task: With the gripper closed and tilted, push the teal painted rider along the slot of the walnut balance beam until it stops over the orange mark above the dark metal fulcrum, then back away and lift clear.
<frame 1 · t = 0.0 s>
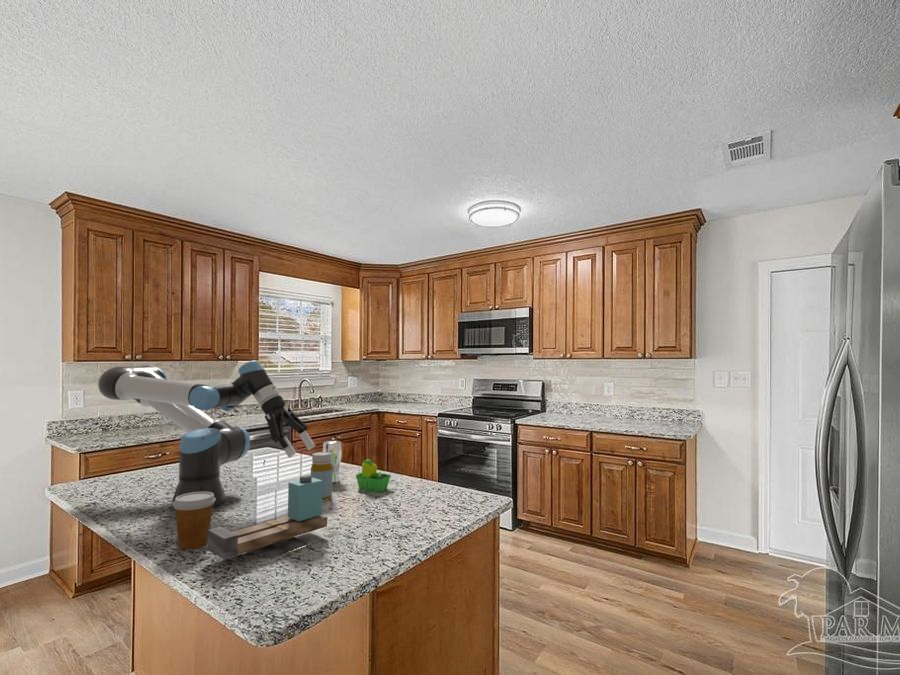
hand: (302, 451, 160), 15 cm above the countertop, tool tilted 35°, fingers open, 13 cm apart
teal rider: (305, 500, 123), point 9 cm above the countertop, slide at 0.0 cm
fruit basket: (371, 490, 169), on the countertop
disposable coffee cup: (193, 545, 117), on the countertop
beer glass: (331, 481, 180), on the countertop
balance beam: (276, 545, 117), on the countertop
bottle: (321, 499, 157), on the countertop
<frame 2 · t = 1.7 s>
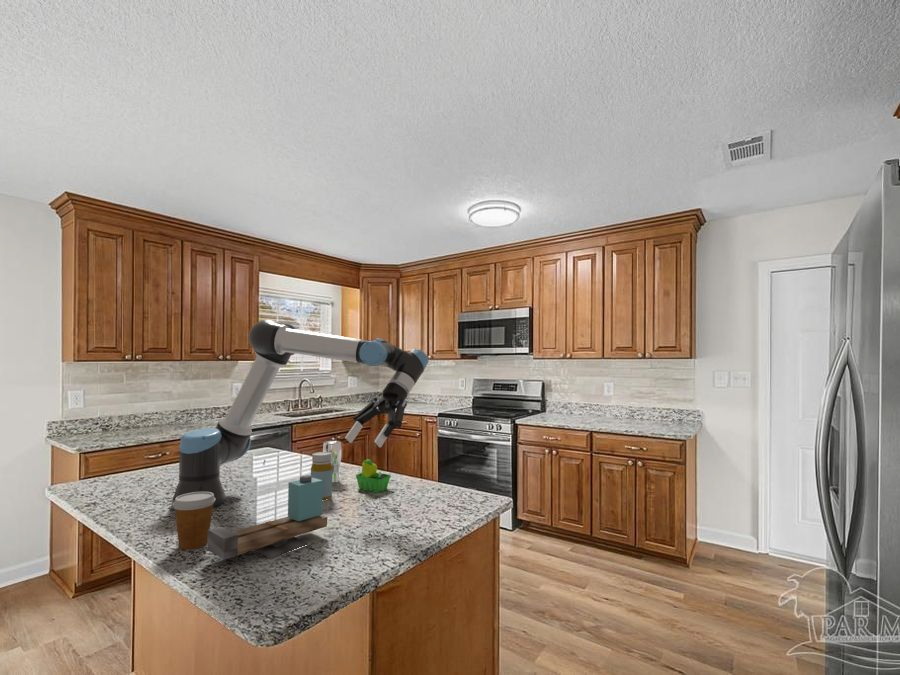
hand: (362, 442, 139), 22 cm above the countertop, tool tilted 45°, fingers open, 13 cm apart
nothing on the countertop moved.
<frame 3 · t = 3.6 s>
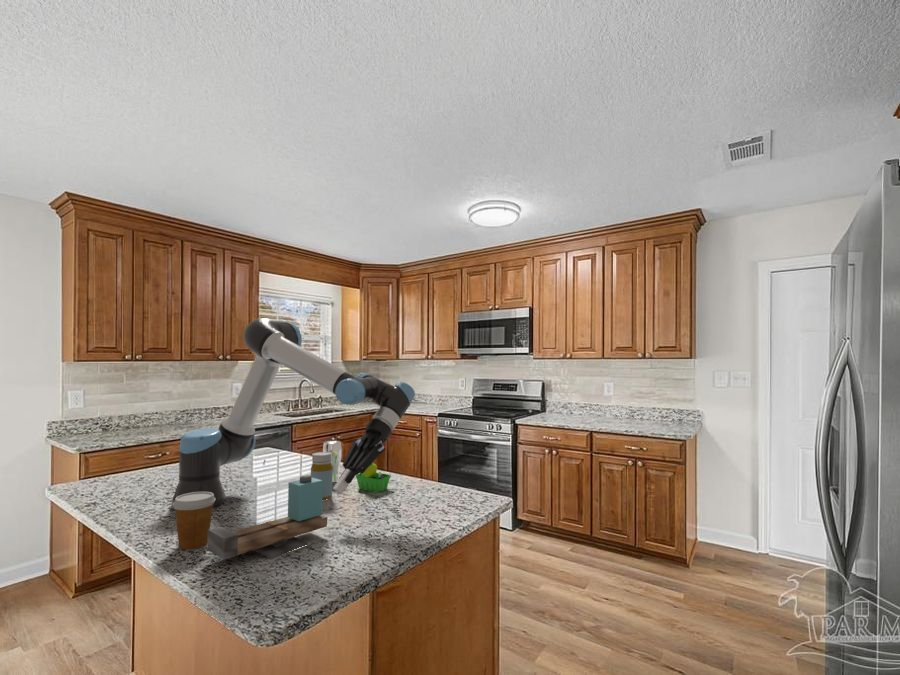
hand: (337, 491, 131), 10 cm above the countertop, tool tilted 45°, fingers closed
nothing on the countertop moved.
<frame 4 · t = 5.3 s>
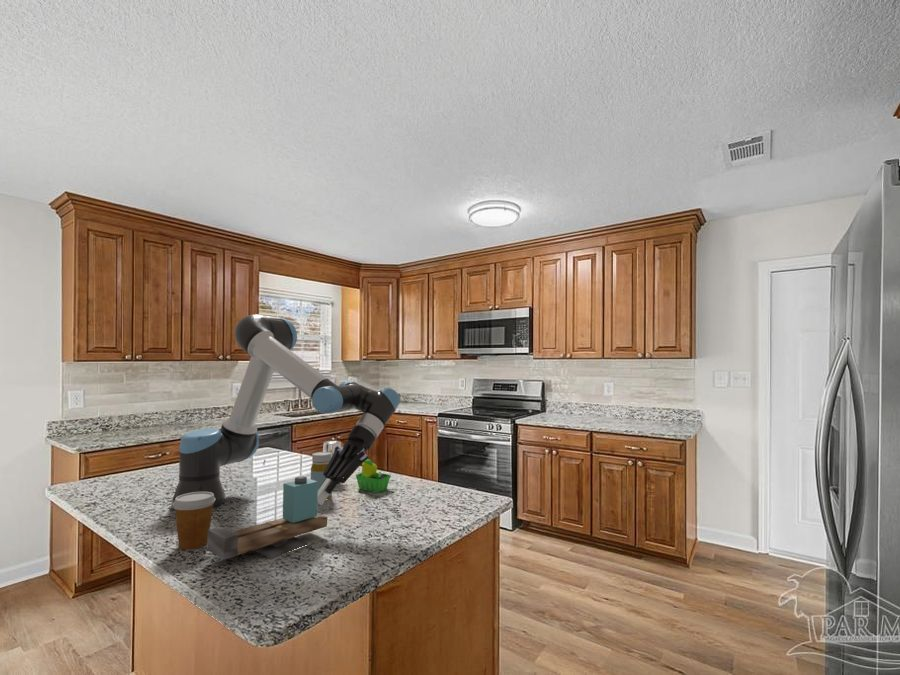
hand: (317, 502, 126), 8 cm above the countertop, tool tilted 45°, fingers closed
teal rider: (300, 501, 122), point 9 cm above the countertop, slide at 1.5 cm, touching gripper
everything else where it was.
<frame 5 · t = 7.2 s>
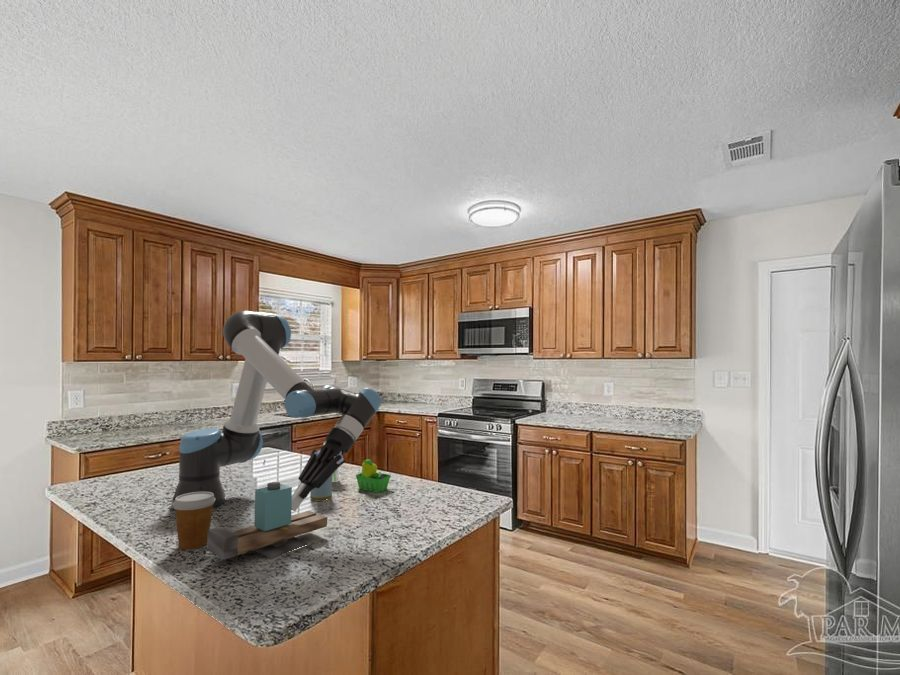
hand: (290, 507, 120), 9 cm above the countertop, tool tilted 45°, fingers closed
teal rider: (273, 508, 116), point 9 cm above the countertop, slide at 9.1 cm, touching gripper
everything else where it was.
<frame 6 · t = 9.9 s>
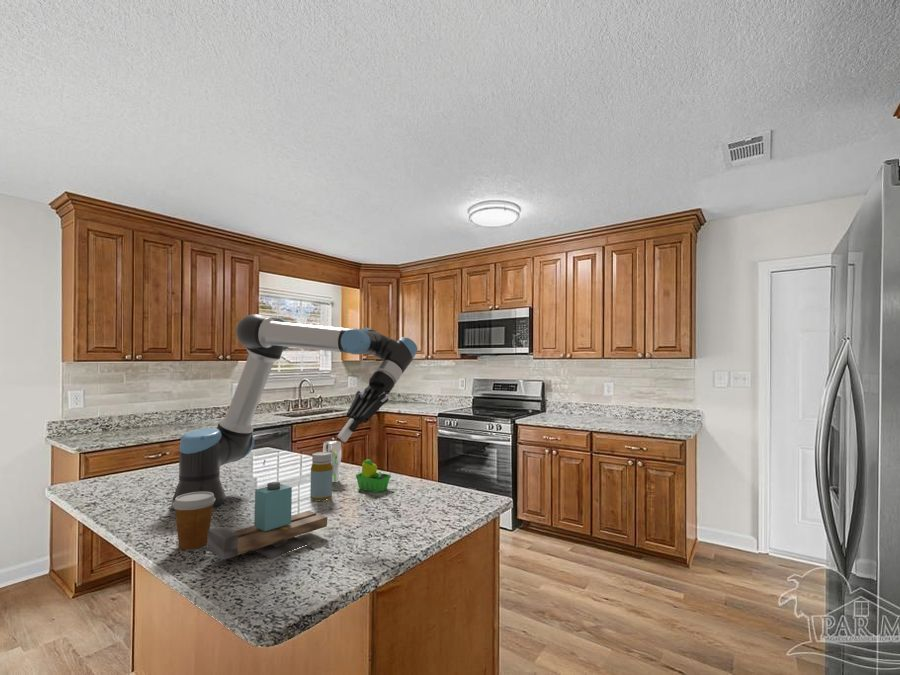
hand: (341, 439, 134), 24 cm above the countertop, tool tilted 45°, fingers closed
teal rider: (273, 508, 116), point 9 cm above the countertop, slide at 9.1 cm
everything else where it was.
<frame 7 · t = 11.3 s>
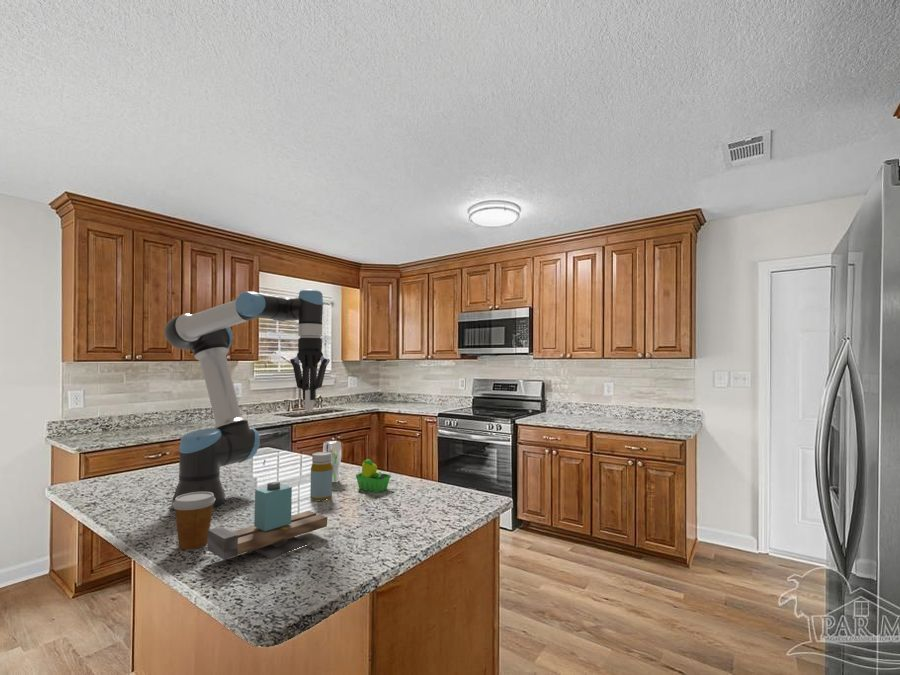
hand: (308, 410, 151), 30 cm above the countertop, tool pointing down, fingers closed
nothing on the countertop moved.
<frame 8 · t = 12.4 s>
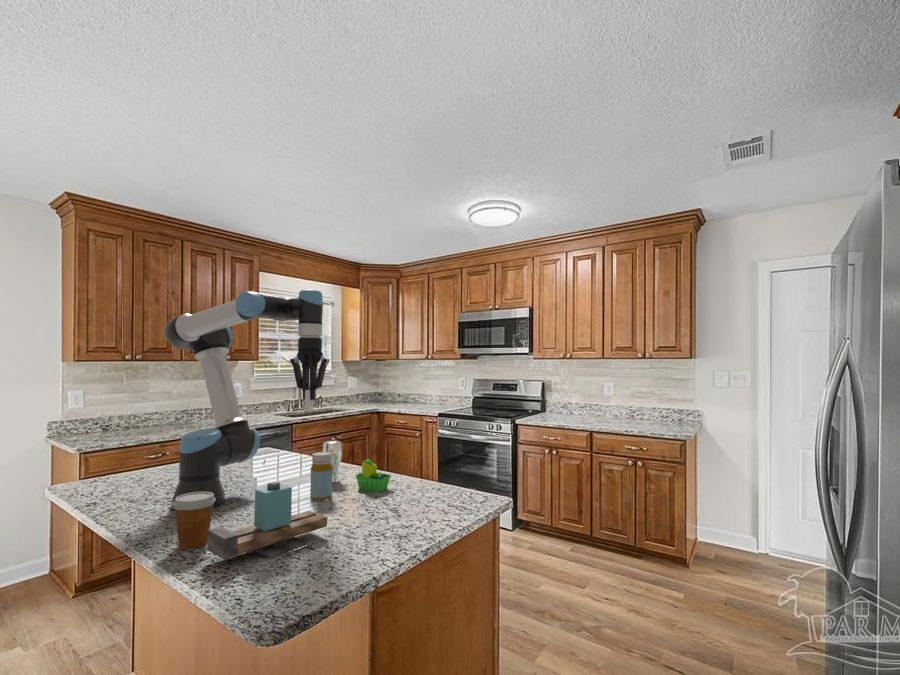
hand: (308, 410, 151), 30 cm above the countertop, tool pointing down, fingers closed
nothing on the countertop moved.
at the end: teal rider slide at 9.1 cm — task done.
